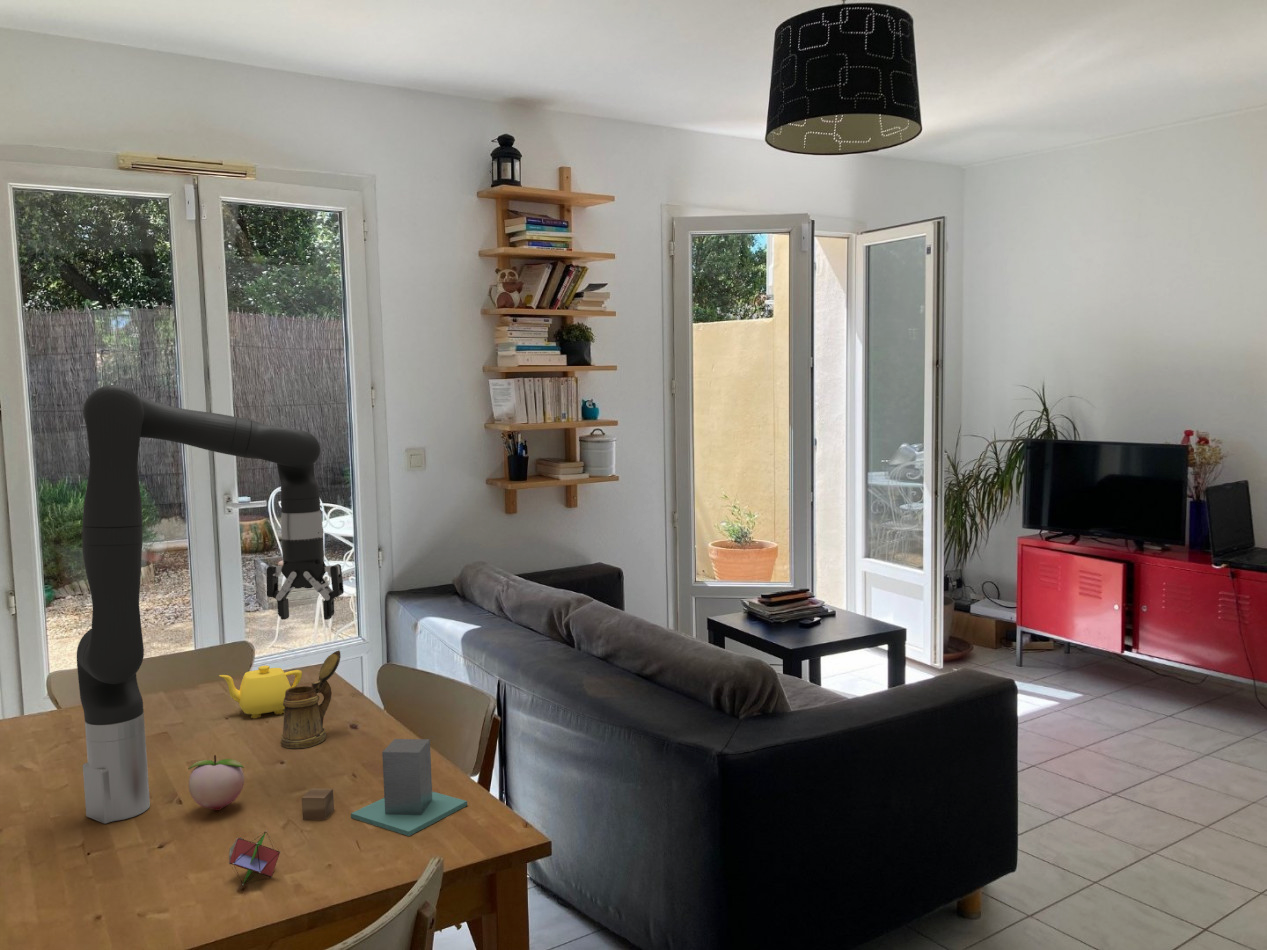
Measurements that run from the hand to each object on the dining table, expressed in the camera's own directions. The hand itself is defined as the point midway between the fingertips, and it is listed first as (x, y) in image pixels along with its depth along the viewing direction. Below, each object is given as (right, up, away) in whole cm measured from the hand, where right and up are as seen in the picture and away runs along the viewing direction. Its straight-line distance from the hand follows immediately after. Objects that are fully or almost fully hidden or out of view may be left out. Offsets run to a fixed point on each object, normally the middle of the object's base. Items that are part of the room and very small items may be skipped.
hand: (306, 618), depth 191 cm
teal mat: (+24, -31, -17) cm, 43 cm away
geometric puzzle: (+5, -34, -40) cm, 52 cm away
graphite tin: (+23, -30, -17) cm, 42 cm away
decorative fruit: (-11, -32, -15) cm, 37 cm away
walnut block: (+8, -32, -17) cm, 37 cm away
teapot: (-23, -28, +39) cm, 53 cm away
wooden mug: (-5, -29, +21) cm, 36 cm away
